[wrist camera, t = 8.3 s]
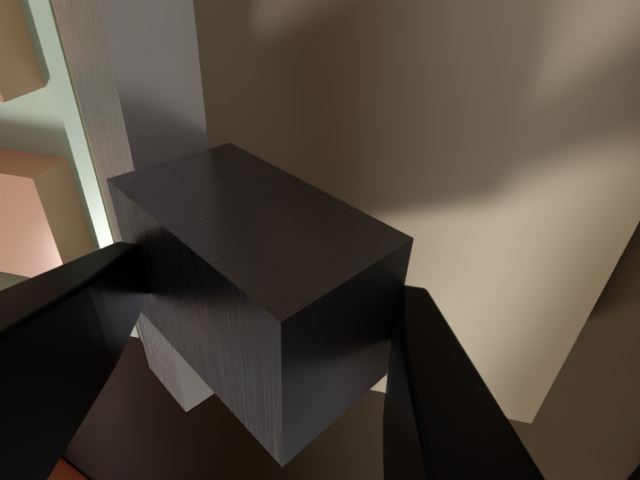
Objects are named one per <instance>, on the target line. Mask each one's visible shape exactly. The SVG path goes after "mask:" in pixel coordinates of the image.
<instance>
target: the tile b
mask: <svg viewBox="0 0 640 480" xmlns="http://www.w3.org/2000/svg"><path fill="white" fill-rule="evenodd" d="M94 251H95V248H94V244H93V241H92V238H91V234H90V231H89V228H88V224H87V221H86V217H85V214H84V211H83V207H82V204H81V200H80V197H79V194H78V190H77V187H76V183H75V180H74V177H73V173H72V170H71V166H70V163H69V160H68V158H66V157H59V156H52V155H46V154H39V153H32V152H26V151H19V150H13V149H6V148H0V272H5V273H10V274H15V275H21V276H26V277H31V278H32V277H34V276H37V275H39V274H41V273H44V272H46V271H49V270H51V269H53V268H56V267H58V266H60V265H63V264H65V263H68V262H70V261H72V260H75V259H77V258H80V257H82V256H84V255H87V254H89V253H91V252H94Z"/></svg>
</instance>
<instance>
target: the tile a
mask: <svg viewBox="0 0 640 480" xmlns="http://www.w3.org/2000/svg"><path fill="white" fill-rule="evenodd" d="M44 87H45V83H44V80H43V77H42V73H41V70H40V67H39V63H38V60H37V57H36V53H35V50H34V47H33V43H32V40H31V37H30V33H29V30H28V26H27V23H26V20H25V16H24V13H23V10H22V6H21V3H20V0H0V102H7V101H9V100H12V99H15V98H17V97H20V96H23V95H25V94H28V93H31V92H33V91H36V90H38V89H41V88H44Z"/></svg>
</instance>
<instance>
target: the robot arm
mask: <svg viewBox="0 0 640 480" xmlns="http://www.w3.org/2000/svg"><path fill="white" fill-rule="evenodd" d="M149 294H150V289H149V285H148V280H147V276H146V272H145V267H144V263H143V259H142V254H141V250H140V247H139V245H138V244H135V243H129V242H115V243H113V244H111V245H108V246H106V247H103V248H101V249H99V250H96V251H94V252H91V253H89V254H87V255H84V256H82V257H80V258H77V259H75V260H72V261H70V262H68V263H65V264H63V265H60V266H58V267H56V268H53V269H51V270H49V271H46V272H44V273H41V274H39V275H37V276H34V277H32V278H29V279H27V280H25V281H22V282H20V283H18V284H15V285H13V286H10V287H8V288H6V289H3V290H1V291H0V480H47V479H48V478H49V476H50V474H51V473H52V471H53V469H54V468H55V466H56V464H57V463H58V461H59V459H60V458H61V456H62V454H63V453H64V451H65V450H66V448H67V446H68V445H69V443H70V441H71V440H72V438H73V436H74V435H75V433H76V431H77V430H78V428H79V426H80V425H81V423H82V421H83V420H84V418H85V416H86V415H87V413H88V412H89V410H90V408H91V407H92V405H93V403H94V402H95V400H96V398H97V397H98V395H99V393H100V392H101V390H102V388H103V387H104V385H105V383H106V382H107V380H108V378H109V377H110V375H111V373H112V371H113V370H114V368H115V366H116V364H117V362H118V360H119V358H120V356H121V354H122V352H123V350H124V348H125V346H126V344H127V341H128V339H129V337H130V335H131V333H132V331H133V329H134V327H135V324H136V322H137V320H138V318H139V316H140V314H141V312H142V309H143V307H144V305H145V303H146V301H147V299H148V297H149ZM383 463H384V480H545V479H544V477H543V475H542V474H541V472H540V470H539V469H538V467H537V466H536V464H535V462H534V461H533V459H532V457H531V456H530V454H529V453H528V451H527V449H526V448H525V446H524V445H523V443H522V441H521V440H520V438H519V437H518V435H517V433H516V432H515V430H514V428H513V427H512V425H511V424H510V422H509V420H508V419H507V417H506V416H505V414H504V412H503V411H502V409H501V408H500V406H499V404H498V403H497V401H496V399H495V398H494V396H493V395H492V393H491V391H490V390H489V388H488V387H487V385H486V383H485V382H484V380H483V379H482V377H481V375H480V374H479V372H478V370H477V369H476V367H475V366H474V364H473V362H472V361H471V359H470V358H469V356H468V354H467V353H466V351H465V350H464V348H463V346H462V345H461V343H460V341H459V340H458V338H457V337H456V335H455V333H454V332H453V330H452V329H451V327H450V325H449V324H448V322H447V321H446V319H445V317H444V316H443V314H442V312H441V311H440V309H439V308H438V306H437V304H436V303H435V301H434V300H433V298H432V296H431V295H430V293H429V292H428V290H427V289H425V288H423V287H416V286H410V285H405V286H404V287H403V288H402V289H401V291H400V295H399V301H398V306H397V311H396V316H395V321H394V327H393V332H392V337H391V345H390V354H389V363H388V373H387V382H386V391H385V401H384V413H383ZM628 480H640V466H639V468H638V469H637V470H636V471H635V472H634V473H633V475H632V476H631V477H630V478H629V479H628Z"/></svg>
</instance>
